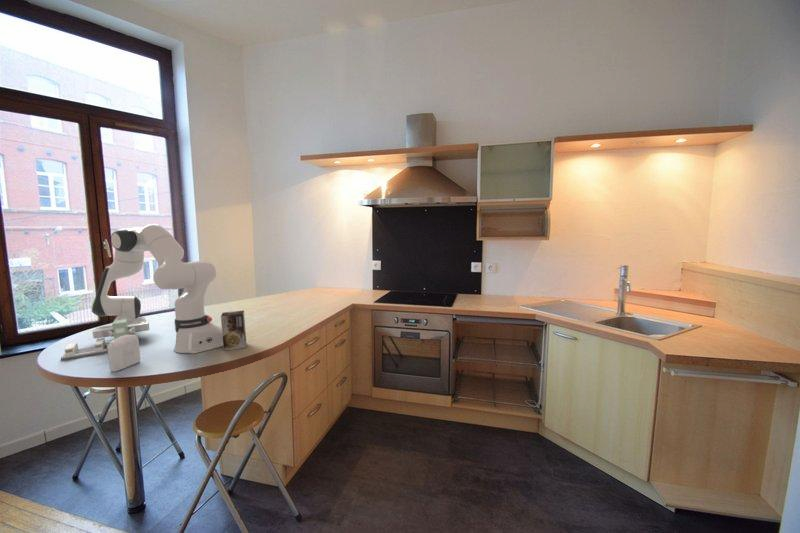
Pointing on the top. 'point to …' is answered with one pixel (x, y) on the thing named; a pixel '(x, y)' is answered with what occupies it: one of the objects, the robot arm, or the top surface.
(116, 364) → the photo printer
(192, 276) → the robot arm
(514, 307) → the top surface
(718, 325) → the top surface
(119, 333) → the loose module
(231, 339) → the coffee box
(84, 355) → the rail board
